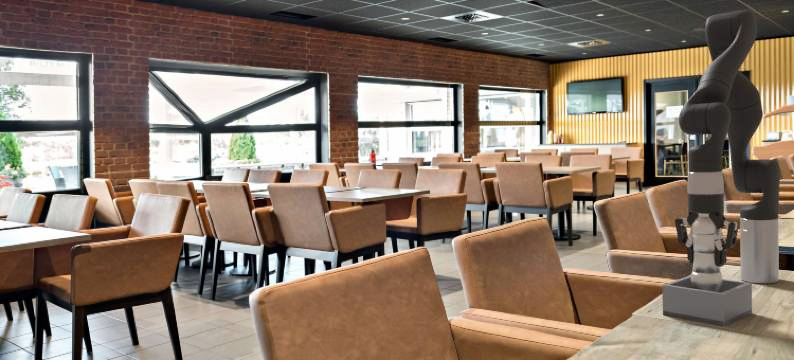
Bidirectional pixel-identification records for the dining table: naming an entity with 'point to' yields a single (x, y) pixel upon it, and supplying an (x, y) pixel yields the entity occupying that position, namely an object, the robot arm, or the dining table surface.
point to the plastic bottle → (705, 255)
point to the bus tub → (707, 301)
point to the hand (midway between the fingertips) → (706, 264)
